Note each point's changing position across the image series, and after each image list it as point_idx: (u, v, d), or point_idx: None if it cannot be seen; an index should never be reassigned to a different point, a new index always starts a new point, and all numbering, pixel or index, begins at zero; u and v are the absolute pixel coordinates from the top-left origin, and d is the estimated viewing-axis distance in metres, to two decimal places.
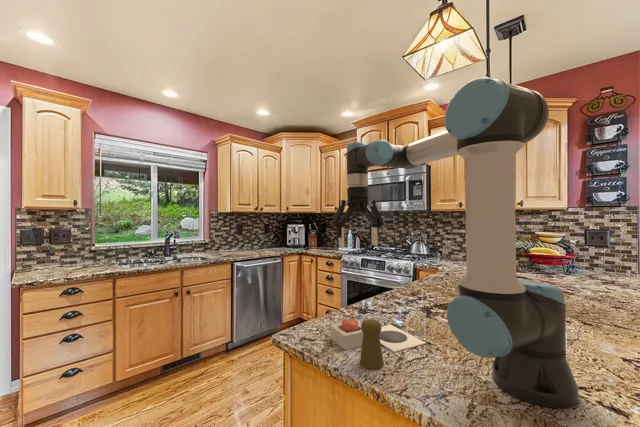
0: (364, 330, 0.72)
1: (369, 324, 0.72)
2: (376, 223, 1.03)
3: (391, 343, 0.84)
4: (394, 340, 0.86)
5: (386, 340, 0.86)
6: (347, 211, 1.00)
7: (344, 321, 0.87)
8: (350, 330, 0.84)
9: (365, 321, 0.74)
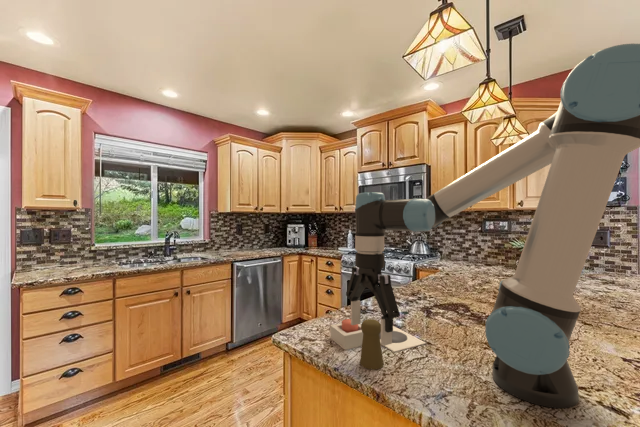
0: (364, 330, 0.72)
1: (369, 324, 0.72)
2: (382, 311, 0.67)
3: None
4: (394, 340, 0.86)
5: None
6: None
7: (344, 321, 0.87)
8: (350, 330, 0.84)
9: (365, 321, 0.74)
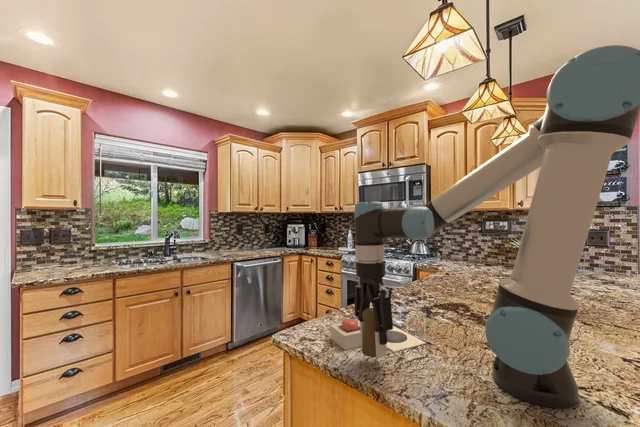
0: (365, 318, 0.72)
1: (370, 312, 0.72)
2: (377, 324, 0.69)
3: (391, 343, 0.84)
4: (394, 340, 0.86)
5: None
6: None
7: (344, 321, 0.87)
8: (350, 330, 0.84)
9: (366, 309, 0.73)
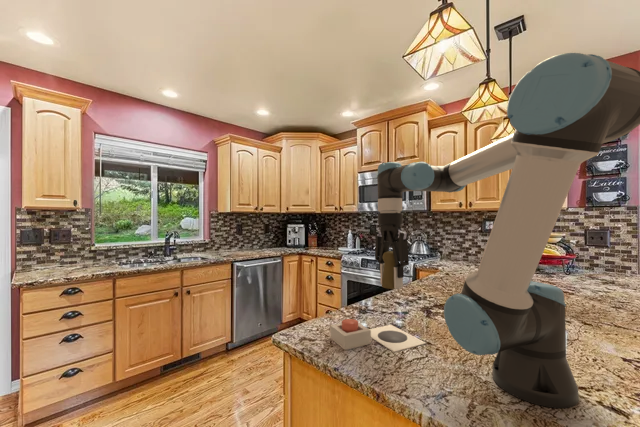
0: (385, 258, 0.88)
1: (390, 253, 0.88)
2: (396, 261, 0.85)
3: (391, 343, 0.84)
4: (394, 340, 0.86)
5: (386, 340, 0.86)
6: None
7: (344, 321, 0.87)
8: (350, 330, 0.84)
9: (386, 252, 0.89)
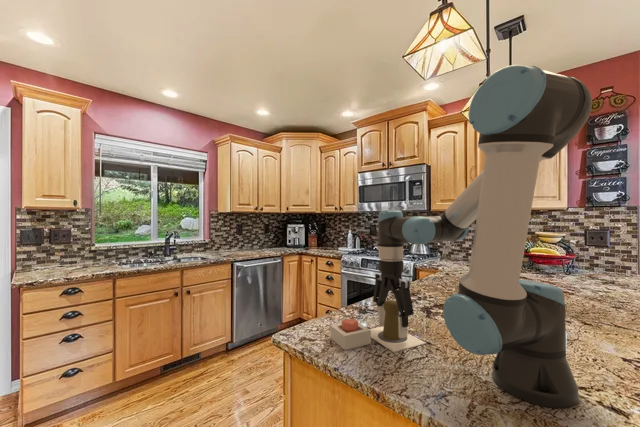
0: (386, 308, 0.87)
1: (391, 303, 0.87)
2: (400, 310, 0.84)
3: (391, 343, 0.84)
4: (394, 340, 0.86)
5: (386, 340, 0.86)
6: None
7: (344, 321, 0.87)
8: (350, 330, 0.84)
9: (387, 301, 0.89)
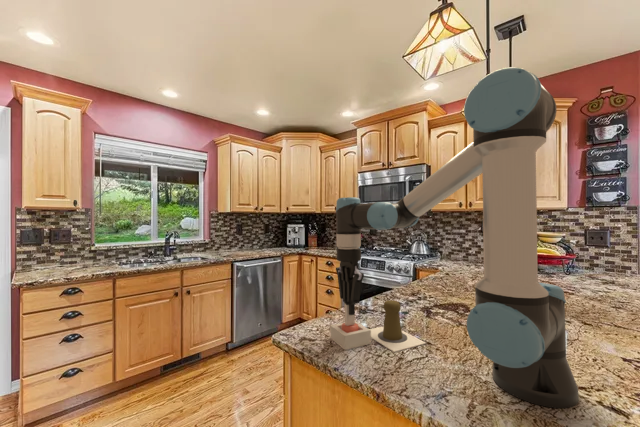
0: (386, 308, 0.87)
1: (390, 303, 0.87)
2: (348, 299, 0.86)
3: (391, 343, 0.84)
4: (394, 340, 0.86)
5: (386, 340, 0.86)
6: None
7: (344, 324, 0.87)
8: None
9: (387, 301, 0.89)
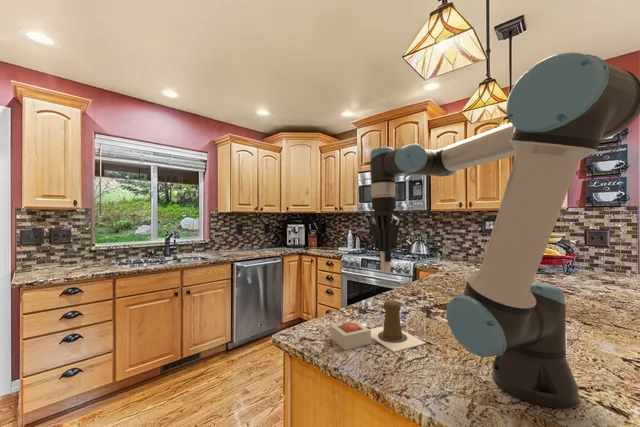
0: (386, 308, 0.87)
1: (391, 303, 0.87)
2: (384, 246, 0.88)
3: (391, 343, 0.84)
4: (394, 340, 0.86)
5: (386, 340, 0.86)
6: None
7: (344, 324, 0.87)
8: None
9: (387, 301, 0.89)
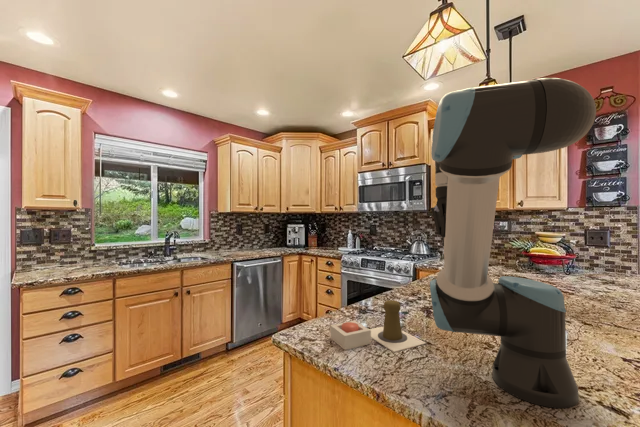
0: (386, 308, 0.87)
1: (390, 303, 0.87)
2: None
3: (391, 343, 0.84)
4: (394, 340, 0.86)
5: (386, 340, 0.86)
6: None
7: (344, 324, 0.87)
8: None
9: (387, 301, 0.89)
